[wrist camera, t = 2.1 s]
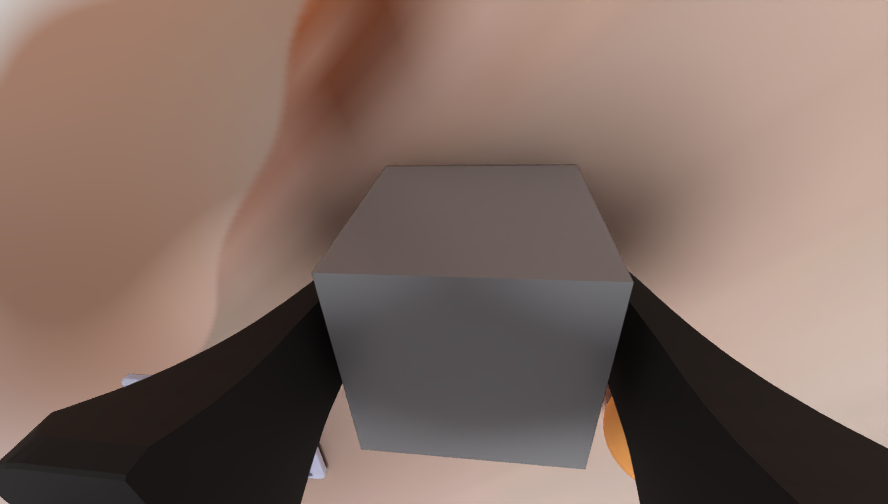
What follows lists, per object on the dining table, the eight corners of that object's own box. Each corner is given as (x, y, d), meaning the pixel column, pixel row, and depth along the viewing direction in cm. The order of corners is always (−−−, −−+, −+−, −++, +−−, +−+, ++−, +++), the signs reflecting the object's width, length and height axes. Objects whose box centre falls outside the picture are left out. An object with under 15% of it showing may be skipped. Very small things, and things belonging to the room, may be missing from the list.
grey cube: (405, 308, 16) (361, 449, 11) (386, 166, 13) (311, 272, 8) (556, 314, 15) (585, 469, 10) (577, 164, 12) (633, 282, 7)
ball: (588, 414, 18) (608, 509, 15) (602, 353, 16) (629, 447, 13) (680, 421, 18) (723, 520, 14) (708, 359, 15) (765, 458, 12)
